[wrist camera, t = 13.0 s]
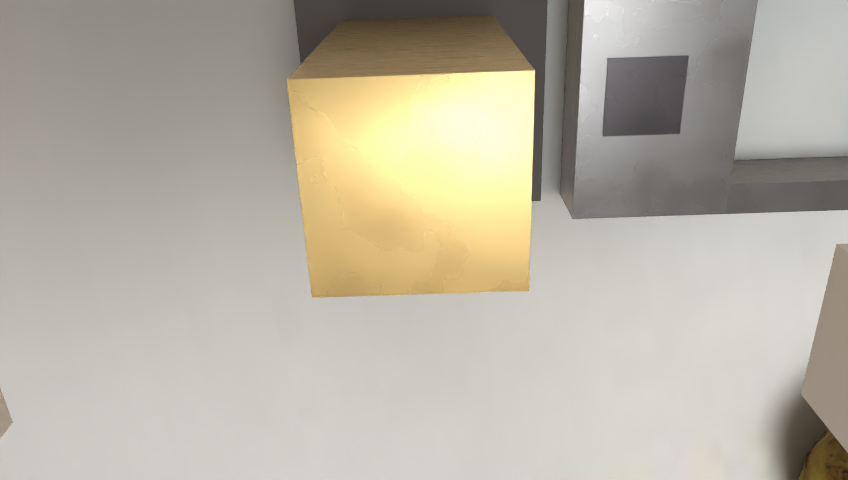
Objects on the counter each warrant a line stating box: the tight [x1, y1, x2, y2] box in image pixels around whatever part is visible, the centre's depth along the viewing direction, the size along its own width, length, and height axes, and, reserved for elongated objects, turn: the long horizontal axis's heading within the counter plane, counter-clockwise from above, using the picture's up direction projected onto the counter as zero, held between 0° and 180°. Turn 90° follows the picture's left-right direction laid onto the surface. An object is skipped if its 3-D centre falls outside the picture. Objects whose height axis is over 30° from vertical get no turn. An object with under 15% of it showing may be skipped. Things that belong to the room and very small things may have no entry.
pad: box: [294, 0, 547, 201], centre depth 29 cm, size 10×10×1 cm
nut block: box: [287, 15, 535, 297], centre depth 23 cm, size 6×6×12 cm
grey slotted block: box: [560, 0, 848, 219], centre depth 28 cm, size 20×10×3 cm, turn 92°
